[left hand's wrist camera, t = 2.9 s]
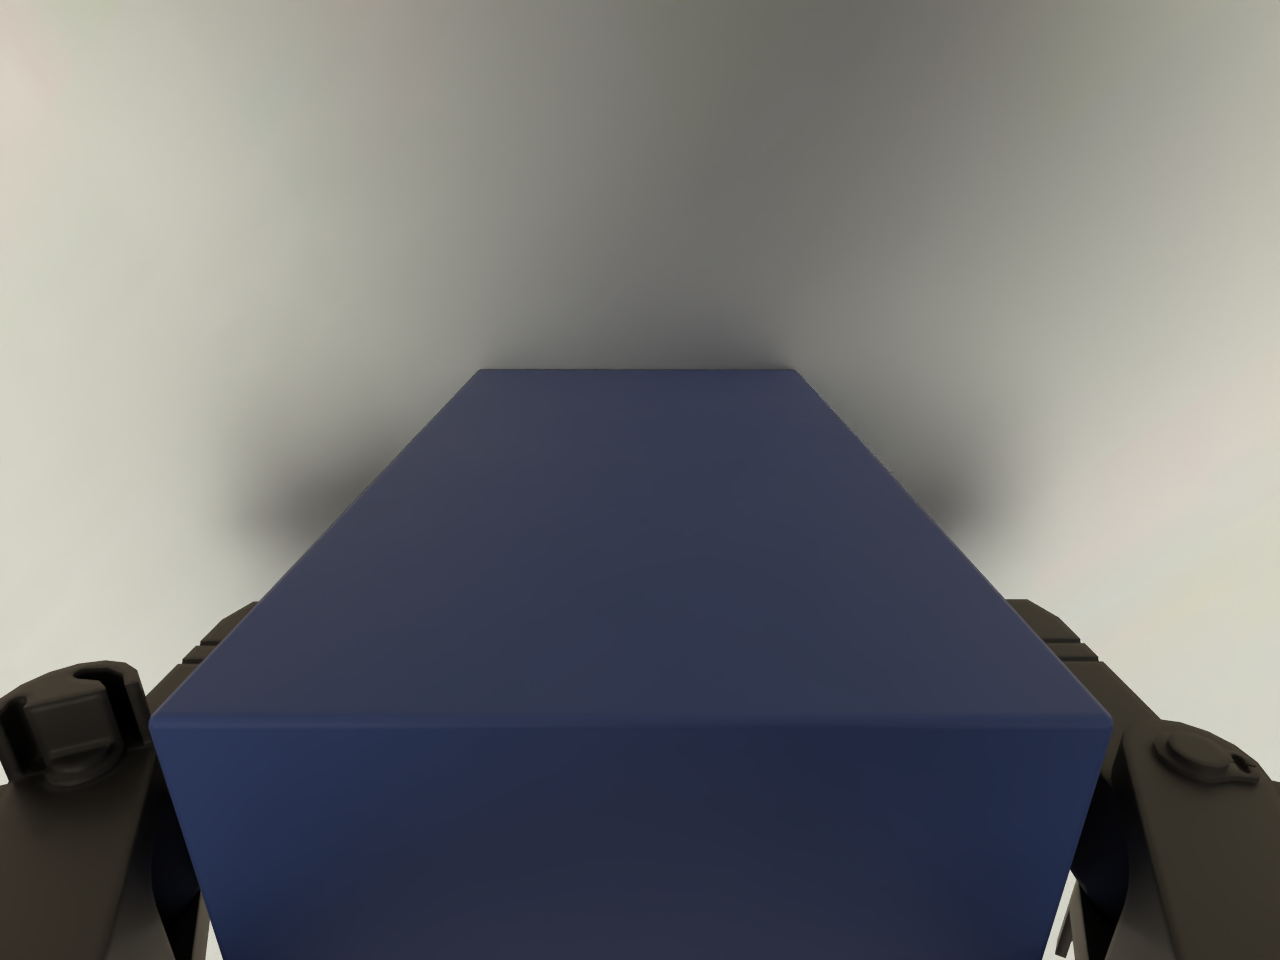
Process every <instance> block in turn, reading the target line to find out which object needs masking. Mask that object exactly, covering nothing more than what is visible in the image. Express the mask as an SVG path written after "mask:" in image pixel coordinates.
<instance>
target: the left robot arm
mask: <svg viewBox="0 0 1280 960" xmlns="http://www.w3.org/2000/svg"><path fill="white" fill-rule="evenodd" d="M1005 600H1006V601H1007V602H1008V603H1009V604H1010V605H1011V606H1012V607H1013V608H1014V610H1015V611H1016V612H1017V613H1018V614H1019V615H1020V616H1021V617H1022V618H1023V619H1024V621H1025V622H1026V623H1027V624H1028V625H1029V626H1030V627H1031V628H1032V629H1033V630H1034V631H1035V633H1036V634H1037V635H1038V636H1039V637H1040V638H1041V639H1042V640H1043V641H1044V642H1045V643H1046V645H1047V646H1048V647H1049V648H1050V649H1051V650H1052V651H1053V652H1054V653H1055V654H1056V656H1057V657H1058V658H1059V659H1060V660H1061V661H1062V662H1063V663H1064V664H1065V665H1066V666H1067V668H1068V669H1069V670H1070V671H1071V672H1072V673H1073V674H1074V675H1075V676H1076V677H1077V678H1078V680H1079V681H1080V682H1081V683H1082V684H1083V685H1084V686H1085V687H1086V688H1087V689H1088V691H1089V692H1090V693H1091V694H1092V695H1093V696H1094V697H1095V698H1096V699H1097V700H1098V701H1099V703H1100V704H1101V705H1102V706H1103V707H1104V708H1105V709H1106V710H1107V711H1108V712H1109V714H1110V715H1111V717H1112V719H1113V724H1114V729H1113V732H1112V735H1111V739H1110V742H1109V745H1108V748H1107V751H1106V755H1105V758H1104V761H1103V764H1102V768H1101V771H1100V774H1099V777H1098V780H1097V784H1096V787H1095V790H1094V793H1093V796H1092V800H1091V803H1090V806H1089V809H1088V813H1087V816H1086V819H1085V822H1084V825H1083V829H1082V832H1081V835H1080V838H1079V842H1078V845H1077V848H1076V851H1075V854H1074V858H1073V861H1072V864H1071V867H1070V870H1071V872H1072V873H1073V875H1074V876H1075V878H1076V883H1075V886H1074V889H1073V892H1072V895H1071V898H1070V902H1069V905H1068V908H1067V911H1066V914H1065V917H1064V920H1063V924H1062V927H1061V930H1060V933H1059V936H1058V940H1057V946H1056V951H1055V954H1056V955H1058V956H1061V957H1064V958H1066V956H1067V952H1068V949H1069V946H1070V943H1071V942H1072V941H1073V946H1074V954H1075V960H1280V782H1276V781H1272V780H1271V779H1270V778H1269V776H1268V775H1267V774H1266V773H1265V771H1264V770H1263V769H1262V767H1261V766H1260V765H1259V764H1258V762H1256V761H1255V760H1254V759H1252V758H1251V757H1250V756H1249V755H1247V754H1246V753H1245V752H1243V751H1242V750H1241V749H1239V748H1238V747H1237V746H1235V745H1234V744H1232V743H1230V742H1228V741H1226V740H1224V739H1222V738H1220V737H1218V736H1216V735H1214V734H1212V733H1210V732H1208V731H1205V730H1202V729H1199V728H1196V727H1193V726H1190V725H1187V724H1184V723H1181V722H1174V721H1167V720H1161V719H1160V718H1159V717H1158V716H1157V715H1156V714H1155V713H1154V712H1153V711H1152V710H1151V709H1150V708H1149V707H1148V706H1147V705H1146V704H1145V703H1144V702H1143V701H1142V700H1141V699H1140V698H1139V697H1138V696H1137V695H1136V694H1135V693H1134V692H1133V691H1132V690H1131V689H1130V688H1129V687H1128V686H1127V685H1126V684H1125V683H1124V682H1123V681H1122V680H1121V679H1120V678H1119V677H1118V676H1117V675H1116V674H1115V673H1114V672H1113V671H1112V670H1111V669H1110V668H1109V667H1108V666H1107V665H1106V664H1105V663H1104V662H1099V661H1098V656H1097V655H1096V654H1095V653H1094V652H1093V651H1092V650H1091V649H1090V648H1089V647H1088V646H1087V645H1086V644H1085V643H1081V642H1080V638H1079V637H1078V636H1077V635H1076V634H1075V633H1074V632H1073V631H1072V630H1071V629H1070V628H1069V627H1068V626H1067V625H1066V624H1065V623H1064V622H1063V621H1062V620H1061V619H1060V618H1059V617H1057V616H1055V615H1053V614H1052V613H1050V612H1048V611H1046V610H1045V609H1043V608H1041V607H1040V606H1038V605H1036V604H1034V603H1033V602H1031V601H1029V600H1027V599H1005ZM257 603H258V602H252V603H250V604H248V605H247V606H245V607H243V608H242V609H240V610H238V611H236V612H235V613H233V614H231V615H230V616H228V617H226V618H224V619H223V620H221V621H220V622H219V623H218V624H217V625H216V626H215V627H214V628H213V629H212V630H211V631H210V632H209V633H208V634H207V635H206V636H205V637H204V638H203V639H202V640H201V641H200V646H195V647H194V648H193V649H192V650H191V651H190V652H189V653H188V654H187V655H186V656H185V657H184V658H183V662H182V664H178V665H177V666H176V667H175V668H174V669H173V670H172V671H171V672H170V673H169V674H168V675H167V676H166V677H165V678H164V679H163V680H162V681H161V682H160V683H159V684H158V685H157V686H156V687H155V688H154V689H153V690H152V691H151V692H150V693H149V694H148V695H147V696H146V697H145V694H144V690H143V687H142V684H141V681H140V678H139V675H138V671H137V670H136V669H134V668H133V667H131V666H130V665H128V664H127V663H124V662H115V661H106V660H105V661H97V662H89V663H81V664H76V665H73V666H69V667H66V668H62V669H59V670H55V671H52V672H49V673H47V674H44V675H42V676H40V677H38V678H35V679H33V680H31V681H29V682H27V683H24V684H22V685H20V686H19V687H17V688H16V689H14V690H13V691H11V692H10V693H8V694H6V695H5V696H3V697H2V698H0V761H1V763H2V766H3V768H4V770H5V773H6V775H7V777H8V780H9V782H8V784H5V785H1V786H0V960H205V957H206V948H207V939H208V931H209V922H210V917H209V914H208V911H207V908H206V905H205V902H204V899H203V896H202V892H201V889H200V886H199V883H198V880H197V877H196V874H195V871H194V868H193V865H192V861H191V858H190V855H189V852H188V849H187V846H186V843H185V840H184V837H183V833H182V830H181V827H180V824H179V821H178V818H177V815H176V812H175V809H174V806H173V802H172V799H171V796H170V793H169V790H168V787H167V784H166V781H165V778H164V774H163V771H162V768H161V765H160V762H159V759H158V756H157V753H156V750H155V747H154V743H153V740H152V737H151V734H150V731H149V728H148V726H149V720H150V718H151V715H152V714H153V713H154V712H155V711H156V710H157V709H158V708H159V707H160V705H161V704H162V703H163V702H164V701H165V700H166V699H167V698H168V697H169V696H170V695H171V694H172V693H173V692H174V691H175V690H176V689H177V688H178V686H179V685H180V684H181V683H182V682H183V681H184V680H185V679H186V678H187V677H188V676H189V675H190V674H191V673H192V672H193V671H194V670H195V669H196V668H197V666H198V665H199V664H200V663H201V662H202V661H203V660H204V659H205V658H206V657H207V656H208V655H209V654H210V653H211V652H212V651H213V650H214V649H215V647H216V646H217V645H218V644H219V643H220V642H221V641H222V640H223V639H224V638H225V637H226V636H227V635H228V634H229V633H230V632H231V631H232V630H233V629H234V627H235V626H236V625H237V624H238V623H239V622H240V621H241V620H242V619H243V618H244V617H245V616H246V615H247V614H248V613H249V612H250V611H251V610H252V608H253V607H254V606H255V605H256V604H257Z"/></svg>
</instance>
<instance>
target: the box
mask: <svg viewBox="0 0 1280 960" xmlns="http://www.w3.org/2000/svg"><path fill="white" fill-rule="evenodd" d="M148 728H149V731H150V734H151V737H152V740H153V743H154V747H155V750H156V753H157V756H158V759H159V762H160V765H161V768H162V771H163V774H164V778H165V781H166V784H167V787H168V790H169V793H170V796H171V799H172V802H173V806H174V809H175V812H176V815H177V818H178V821H179V824H180V827H181V830H182V833H183V837H184V840H185V843H186V846H187V849H188V852H189V855H190V858H191V861H192V865H193V868H194V871H195V874H196V877H197V880H198V883H199V886H200V889H201V892H202V896H203V899H204V902H205V905H206V908H207V911H208V914H209V917H210V920H211V923H212V927H213V930H214V933H215V936H216V939H217V942H218V945H219V948H220V951H221V955H222V958H223V960H1042V958H1043V954H1044V951H1045V948H1046V945H1047V941H1048V938H1049V935H1050V932H1051V929H1052V925H1053V922H1054V919H1055V916H1056V912H1057V909H1058V906H1059V903H1060V900H1061V896H1062V893H1063V890H1064V887H1065V883H1066V880H1067V877H1068V874H1069V871H1070V867H1071V864H1072V861H1073V858H1074V854H1075V851H1076V848H1077V845H1078V842H1079V838H1080V835H1081V832H1082V829H1083V825H1084V822H1085V819H1086V816H1087V813H1088V809H1089V806H1090V803H1091V800H1092V796H1093V793H1094V790H1095V787H1096V784H1097V780H1098V777H1099V774H1100V771H1101V768H1102V764H1103V761H1104V758H1105V755H1106V751H1107V748H1108V745H1109V742H1110V739H1111V735H1112V732H1113V729H1114V724H1113V719H1112V717H1111V715H1110V714H1109V712H1108V711H1107V710H1106V709H1105V708H1104V707H1103V706H1102V705H1101V704H1100V703H1099V701H1098V700H1097V699H1096V698H1095V697H1094V696H1093V695H1092V694H1091V693H1090V692H1089V691H1088V689H1087V688H1086V687H1085V686H1084V685H1083V684H1082V683H1081V682H1080V681H1079V680H1078V678H1077V677H1076V676H1075V675H1074V674H1073V673H1072V672H1071V671H1070V670H1069V669H1068V668H1067V666H1066V665H1065V664H1064V663H1063V662H1062V661H1061V660H1060V659H1059V658H1058V657H1057V656H1056V654H1055V653H1054V652H1053V651H1052V650H1051V649H1050V648H1049V647H1048V646H1047V645H1046V643H1045V642H1044V641H1043V640H1042V639H1041V638H1040V637H1039V636H1038V635H1037V634H1036V633H1035V631H1034V630H1033V629H1032V628H1031V627H1030V626H1029V625H1028V624H1027V623H1026V622H1025V621H1024V619H1023V618H1022V617H1021V616H1020V615H1019V614H1018V613H1017V612H1016V611H1015V610H1014V608H1013V607H1012V606H1011V605H1010V604H1009V603H1008V602H1007V601H1006V600H1005V599H1004V598H1003V596H1002V595H1001V594H1000V593H999V592H998V591H997V590H996V589H995V588H994V587H993V585H992V584H991V583H990V582H989V581H988V580H987V579H986V578H985V577H984V576H983V575H982V573H981V572H980V571H979V570H978V569H977V568H976V567H975V566H974V565H973V564H972V563H971V561H970V560H969V559H968V558H967V557H966V556H965V555H964V554H963V553H962V552H961V550H960V549H959V548H958V547H957V546H956V545H955V544H954V543H953V542H952V541H951V540H950V538H949V537H948V536H947V535H946V534H945V533H944V532H943V531H942V530H941V529H940V528H939V526H938V525H937V524H936V523H935V522H934V521H933V520H932V519H931V518H930V517H929V515H928V514H927V513H926V512H925V511H924V510H923V509H922V508H921V507H920V506H919V505H918V503H917V502H916V501H915V500H914V499H913V498H912V497H911V496H910V495H909V494H908V493H907V491H906V490H905V489H904V488H903V487H902V486H901V485H900V484H899V483H898V482H897V480H896V479H895V478H894V477H893V476H892V475H891V474H890V473H889V472H888V471H887V470H886V468H885V467H884V466H883V465H882V464H881V463H880V462H879V461H878V460H877V459H876V457H875V456H874V455H873V454H872V453H871V452H870V451H869V450H868V449H867V448H866V447H865V445H864V444H863V443H862V442H861V441H860V440H859V439H858V438H857V437H856V436H855V435H854V433H853V432H852V431H851V430H850V429H849V428H848V427H847V426H846V425H845V424H844V422H843V421H842V420H841V419H840V418H839V417H838V416H837V415H836V414H835V413H834V412H833V410H832V409H831V408H830V407H829V406H828V405H827V404H826V403H825V402H824V401H823V400H822V398H821V397H820V396H819V395H818V394H817V393H816V392H815V391H814V390H813V389H812V387H811V386H810V385H809V384H808V383H807V382H806V381H805V380H804V379H803V378H802V377H801V375H800V374H799V373H798V372H797V371H795V370H479V371H477V372H476V373H475V374H474V376H473V377H472V378H471V379H470V380H469V381H468V382H467V383H466V384H465V385H464V386H463V387H462V388H461V389H460V390H459V391H458V392H457V393H456V395H455V396H454V397H453V398H452V399H451V400H450V401H449V402H448V403H447V404H446V405H445V406H444V407H443V408H442V409H441V410H440V411H439V412H438V413H437V415H436V416H435V417H434V418H433V419H432V420H431V421H430V422H429V423H428V424H427V425H426V426H425V427H424V428H423V429H422V430H421V431H420V432H419V434H418V435H417V436H416V437H415V438H414V439H413V440H412V441H411V442H410V443H409V444H408V445H407V446H406V447H405V448H404V449H403V450H402V451H401V452H400V454H399V455H398V456H397V457H396V458H395V459H394V460H393V461H392V462H391V463H390V464H389V465H388V466H387V467H386V468H385V469H384V470H383V471H382V473H381V474H380V475H379V476H378V477H377V478H376V479H375V480H374V481H373V482H372V483H371V484H370V485H369V486H368V487H367V488H366V489H365V490H364V491H363V493H362V494H361V495H360V496H359V497H358V498H357V499H356V500H355V501H354V502H353V503H352V504H351V505H350V506H349V507H348V508H347V509H346V510H345V512H344V513H343V514H342V515H341V516H340V517H339V518H338V519H337V520H336V521H335V522H334V523H333V524H332V525H331V526H330V527H329V528H328V529H327V530H326V532H325V533H324V534H323V535H322V536H321V537H320V538H319V539H318V540H317V541H316V542H315V543H314V544H313V545H312V546H311V547H310V548H309V549H308V551H307V552H306V553H305V554H304V555H303V556H302V557H301V558H300V559H299V560H298V561H297V562H296V563H295V564H294V565H293V566H292V567H291V568H290V569H289V571H288V572H287V573H286V574H285V575H284V576H283V577H282V578H281V579H280V580H279V581H278V582H277V583H276V584H275V585H274V586H273V587H272V588H271V590H270V591H269V592H268V593H267V594H266V595H265V596H264V597H263V598H262V599H261V600H260V601H259V602H258V603H257V604H256V605H255V606H254V607H253V608H252V610H251V611H250V612H249V613H248V614H247V615H246V616H245V617H244V618H243V619H242V620H241V621H240V622H239V623H238V624H237V625H236V626H235V627H234V629H233V630H232V631H231V632H230V633H229V634H228V635H227V636H226V637H225V638H224V639H223V640H222V641H221V642H220V643H219V644H218V645H217V646H216V647H215V649H214V650H213V651H212V652H211V653H210V654H209V655H208V656H207V657H206V658H205V659H204V660H203V661H202V662H201V663H200V664H199V665H198V666H197V668H196V669H195V670H194V671H193V672H192V673H191V674H190V675H189V676H188V677H187V678H186V679H185V680H184V681H183V682H182V683H181V684H180V685H179V686H178V688H177V689H176V690H175V691H174V692H173V693H172V694H171V695H170V696H169V697H168V698H167V699H166V700H165V701H164V702H163V703H162V704H161V705H160V707H159V708H158V709H157V710H156V711H155V712H154V713H153V714H152V715H151V718H150V720H149V726H148Z"/></svg>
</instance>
